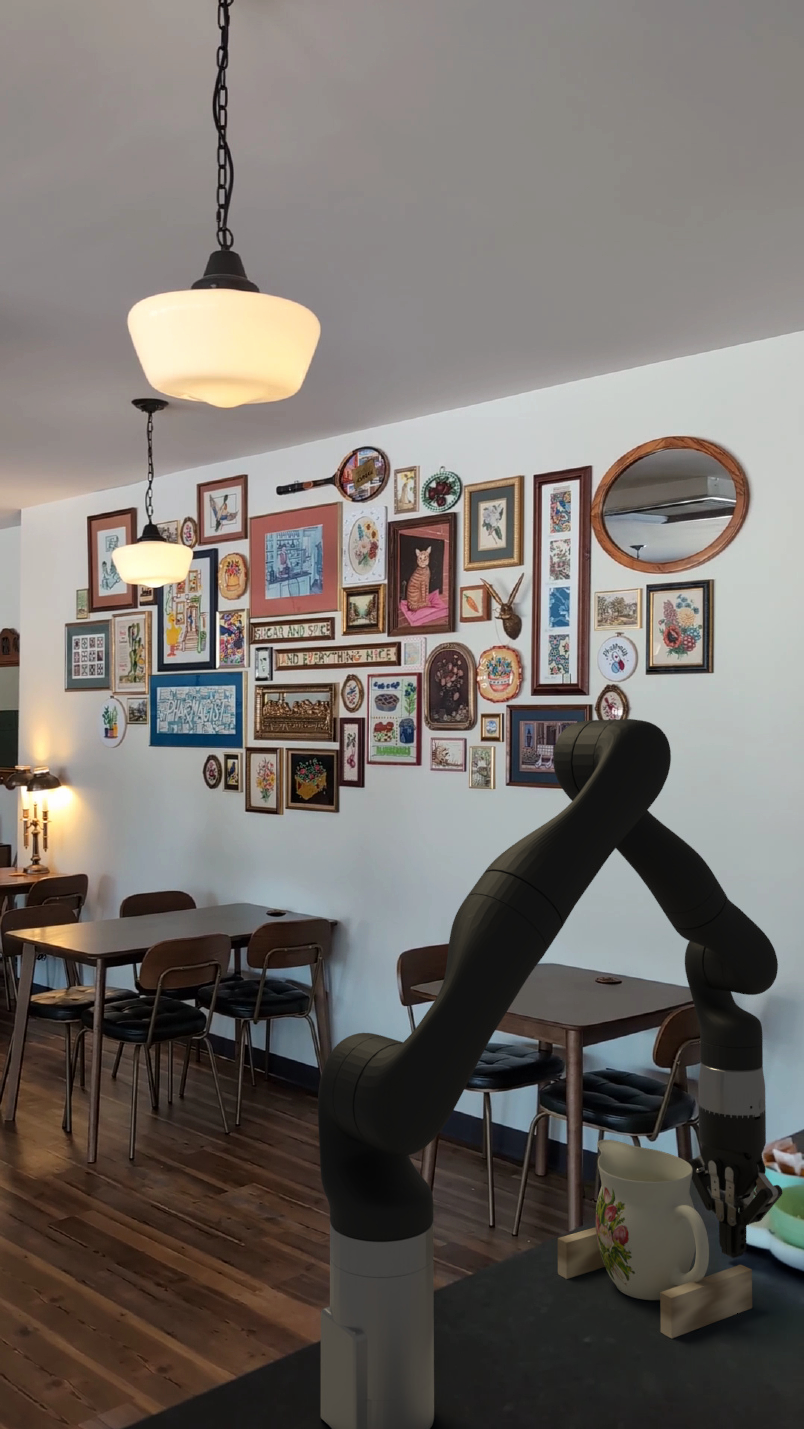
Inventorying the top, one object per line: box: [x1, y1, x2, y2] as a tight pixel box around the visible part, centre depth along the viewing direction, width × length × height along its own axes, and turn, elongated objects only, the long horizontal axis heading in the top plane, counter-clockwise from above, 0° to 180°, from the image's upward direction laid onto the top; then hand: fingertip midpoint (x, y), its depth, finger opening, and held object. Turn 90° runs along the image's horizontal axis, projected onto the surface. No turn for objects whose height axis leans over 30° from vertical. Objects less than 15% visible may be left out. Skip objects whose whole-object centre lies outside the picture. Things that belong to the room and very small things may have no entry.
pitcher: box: [595, 1139, 710, 1301], centre depth 128 cm, size 11×18×14 cm, turn 26°
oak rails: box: [557, 1226, 753, 1339], centre depth 128 cm, size 12×18×4 cm
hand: (733, 1254), depth 135 cm, fingers closed
